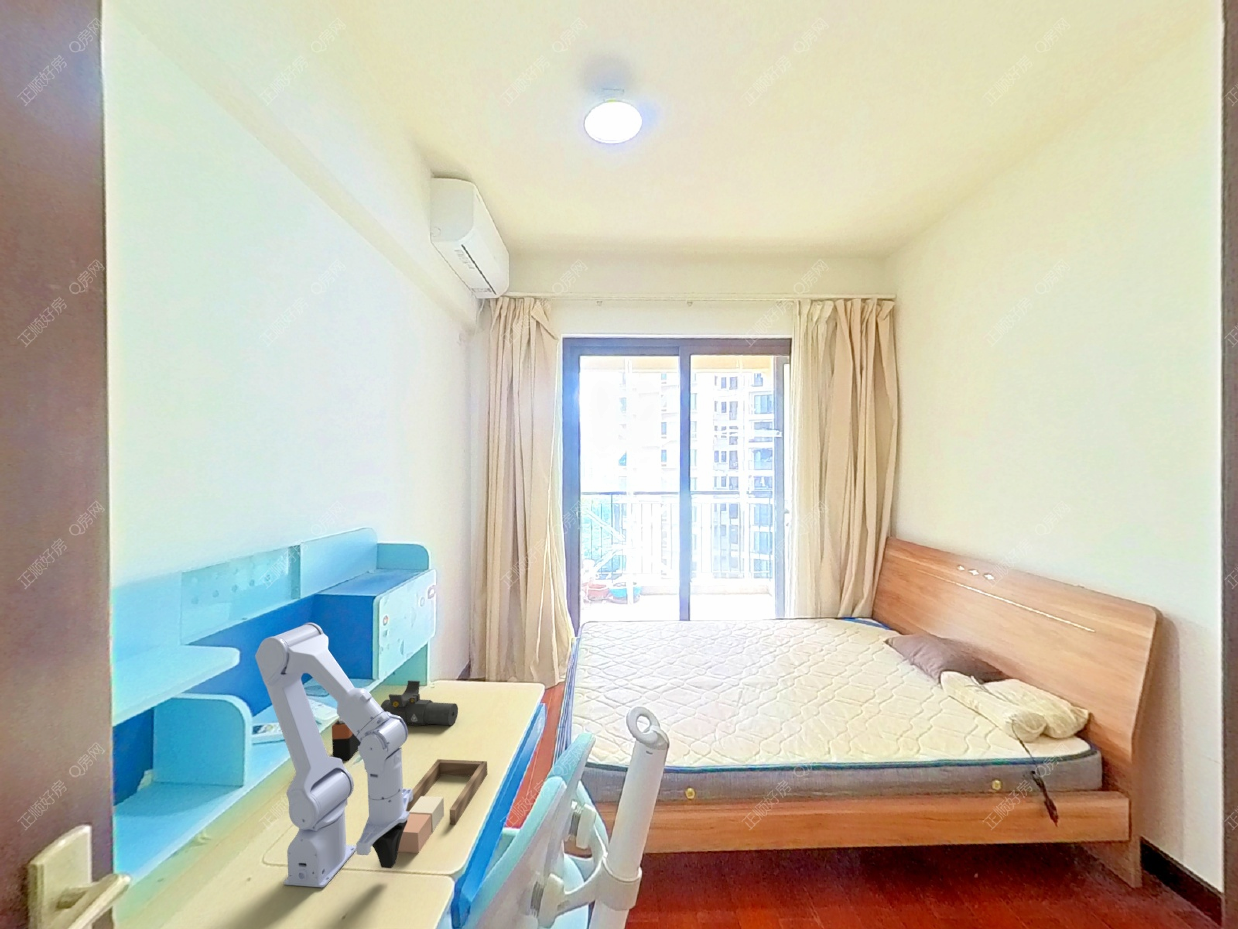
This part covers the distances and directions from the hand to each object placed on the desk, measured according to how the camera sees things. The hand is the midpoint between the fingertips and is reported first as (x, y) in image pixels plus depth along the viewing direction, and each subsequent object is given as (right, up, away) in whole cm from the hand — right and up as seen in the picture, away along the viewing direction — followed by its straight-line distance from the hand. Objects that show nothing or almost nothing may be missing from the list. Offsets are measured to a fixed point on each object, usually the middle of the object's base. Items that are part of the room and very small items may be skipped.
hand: (388, 865), depth 93 cm
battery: (-29, -3, +41) cm, 50 cm away
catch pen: (+3, -2, +22) cm, 22 cm away
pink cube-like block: (+1, -2, +8) cm, 9 cm away
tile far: (+2, -2, +14) cm, 14 cm away
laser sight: (-17, -3, +56) cm, 59 cm away
